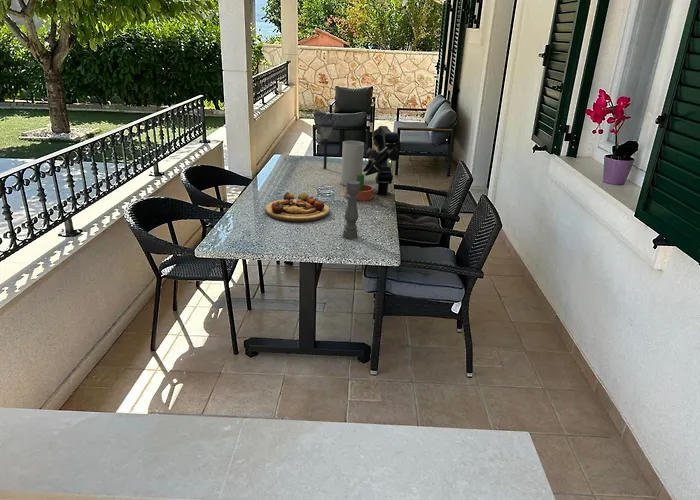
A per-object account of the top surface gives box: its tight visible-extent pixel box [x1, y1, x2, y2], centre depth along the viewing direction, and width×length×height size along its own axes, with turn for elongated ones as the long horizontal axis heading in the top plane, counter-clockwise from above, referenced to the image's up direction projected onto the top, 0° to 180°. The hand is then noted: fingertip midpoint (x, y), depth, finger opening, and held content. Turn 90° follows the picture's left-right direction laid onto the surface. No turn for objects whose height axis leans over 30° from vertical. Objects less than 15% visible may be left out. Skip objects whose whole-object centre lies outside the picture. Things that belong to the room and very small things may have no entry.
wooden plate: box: [264, 190, 330, 222], centre depth 252 cm, size 32×32×8 cm
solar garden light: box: [316, 121, 336, 170], centre depth 332 cm, size 12×12×30 cm
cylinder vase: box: [340, 140, 365, 187], centre depth 302 cm, size 12×12×25 cm
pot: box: [344, 183, 375, 202], centre depth 282 cm, size 16×16×6 cm
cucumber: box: [356, 172, 365, 191], centre depth 280 cm, size 4×4×13 cm
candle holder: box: [342, 181, 360, 240], centre depth 222 cm, size 6×6×25 cm
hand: (364, 173), depth 278 cm, fingers open, 9 cm apart
